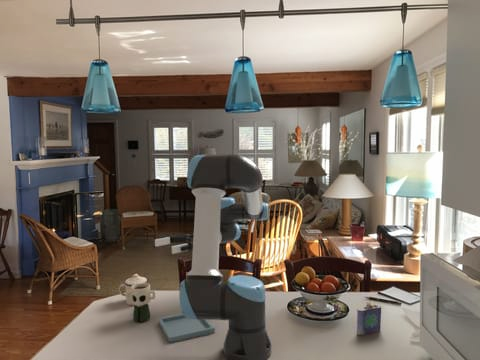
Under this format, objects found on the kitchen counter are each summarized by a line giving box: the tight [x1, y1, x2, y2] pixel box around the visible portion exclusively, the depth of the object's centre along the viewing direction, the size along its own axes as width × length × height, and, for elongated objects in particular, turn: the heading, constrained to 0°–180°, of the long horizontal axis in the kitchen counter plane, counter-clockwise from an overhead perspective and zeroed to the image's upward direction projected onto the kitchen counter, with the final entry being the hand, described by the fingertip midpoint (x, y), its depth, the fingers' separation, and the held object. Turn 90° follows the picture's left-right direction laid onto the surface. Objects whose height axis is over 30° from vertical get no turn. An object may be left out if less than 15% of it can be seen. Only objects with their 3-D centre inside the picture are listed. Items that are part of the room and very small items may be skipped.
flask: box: [356, 301, 382, 336], centre depth 135 cm, size 9×3×11 cm, turn 109°
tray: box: [158, 313, 216, 344], centre depth 140 cm, size 16×16×2 cm
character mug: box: [127, 282, 156, 322], centre depth 147 cm, size 11×7×13 cm, turn 86°
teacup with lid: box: [118, 273, 148, 306], centre depth 164 cm, size 12×9×12 cm
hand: (163, 246), depth 152 cm, fingers open, 13 cm apart
